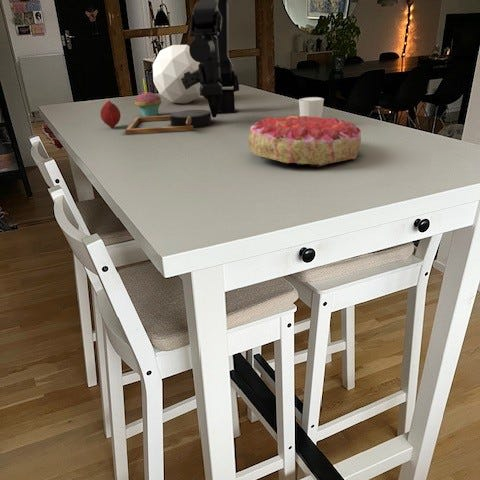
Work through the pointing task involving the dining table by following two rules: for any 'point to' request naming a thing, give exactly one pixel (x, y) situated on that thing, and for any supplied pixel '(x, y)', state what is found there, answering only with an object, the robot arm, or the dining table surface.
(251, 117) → the dining table surface
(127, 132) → the pan rest
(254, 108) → the dining table surface
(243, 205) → the dining table surface
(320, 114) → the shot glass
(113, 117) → the onion
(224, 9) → the robot arm
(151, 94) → the cupcake
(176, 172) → the dining table surface
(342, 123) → the cake
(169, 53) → the geometric orb
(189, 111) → the pan
